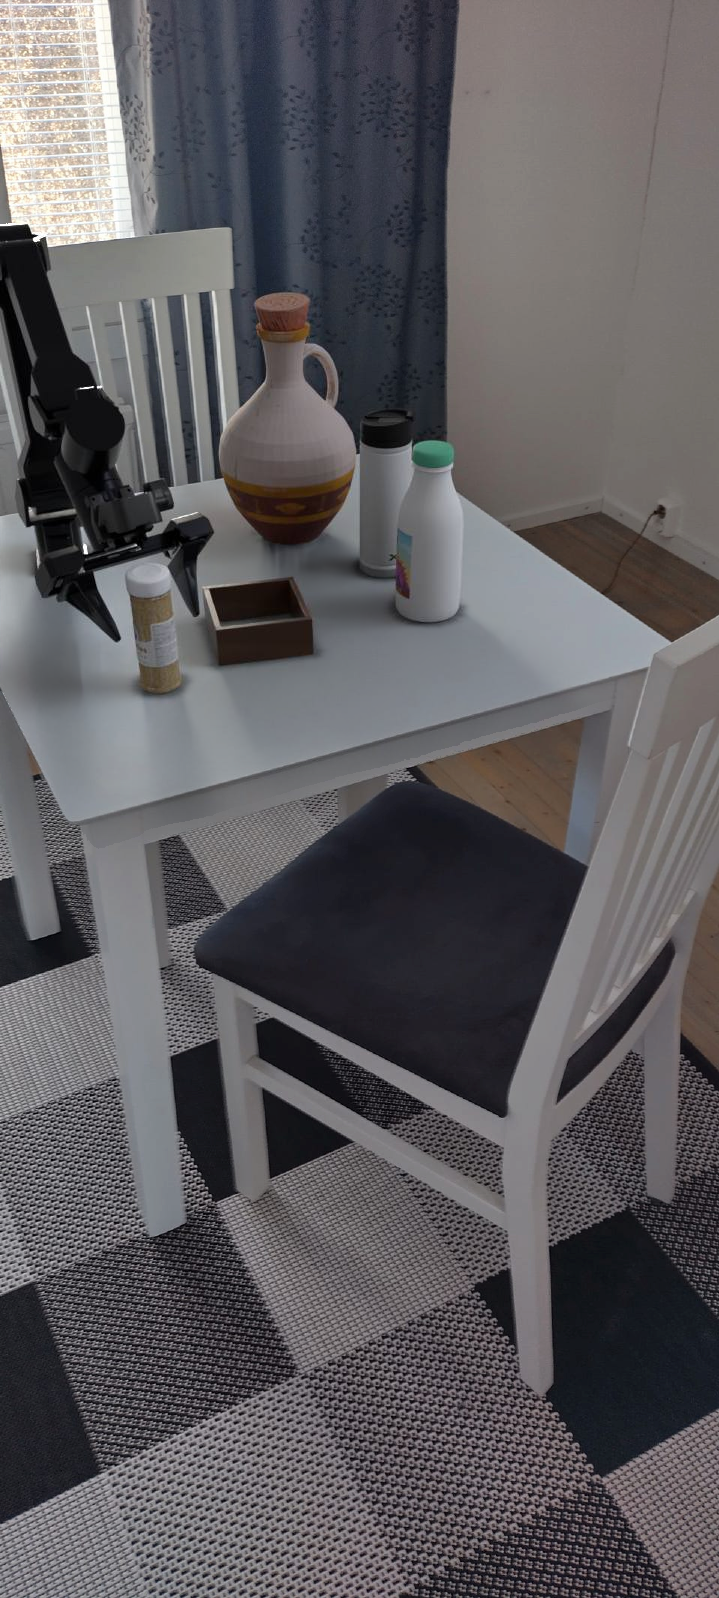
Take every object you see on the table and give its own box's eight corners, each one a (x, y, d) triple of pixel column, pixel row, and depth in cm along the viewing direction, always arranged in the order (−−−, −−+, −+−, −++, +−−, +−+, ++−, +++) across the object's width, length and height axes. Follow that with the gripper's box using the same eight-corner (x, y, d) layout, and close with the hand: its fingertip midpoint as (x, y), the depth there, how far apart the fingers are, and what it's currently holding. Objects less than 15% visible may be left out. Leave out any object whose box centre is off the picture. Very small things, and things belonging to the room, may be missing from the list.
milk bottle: (466, 599, 144) (476, 438, 132) (449, 628, 138) (458, 462, 126) (406, 590, 146) (410, 430, 134) (386, 618, 140) (389, 454, 128)
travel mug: (406, 580, 148) (411, 422, 136) (355, 576, 149) (355, 418, 137) (414, 559, 153) (419, 405, 141) (364, 554, 154) (365, 401, 142)
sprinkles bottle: (133, 681, 128) (117, 568, 120) (171, 669, 130) (157, 557, 122) (151, 699, 125) (135, 585, 117) (190, 687, 127) (177, 573, 119)
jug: (288, 492, 170) (280, 271, 152) (389, 522, 162) (393, 291, 144) (197, 538, 158) (176, 303, 140) (301, 573, 149) (294, 327, 131)
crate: (205, 620, 139) (202, 586, 137) (294, 610, 141) (293, 576, 139) (218, 666, 131) (215, 630, 128) (313, 654, 133) (312, 618, 130)
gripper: (26, 477, 112) (93, 626, 111) (198, 436, 121) (261, 574, 120) (8, 527, 122) (70, 664, 121) (168, 486, 130) (226, 613, 130)
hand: (158, 628), depth 123 cm, fingers open, 9 cm apart
